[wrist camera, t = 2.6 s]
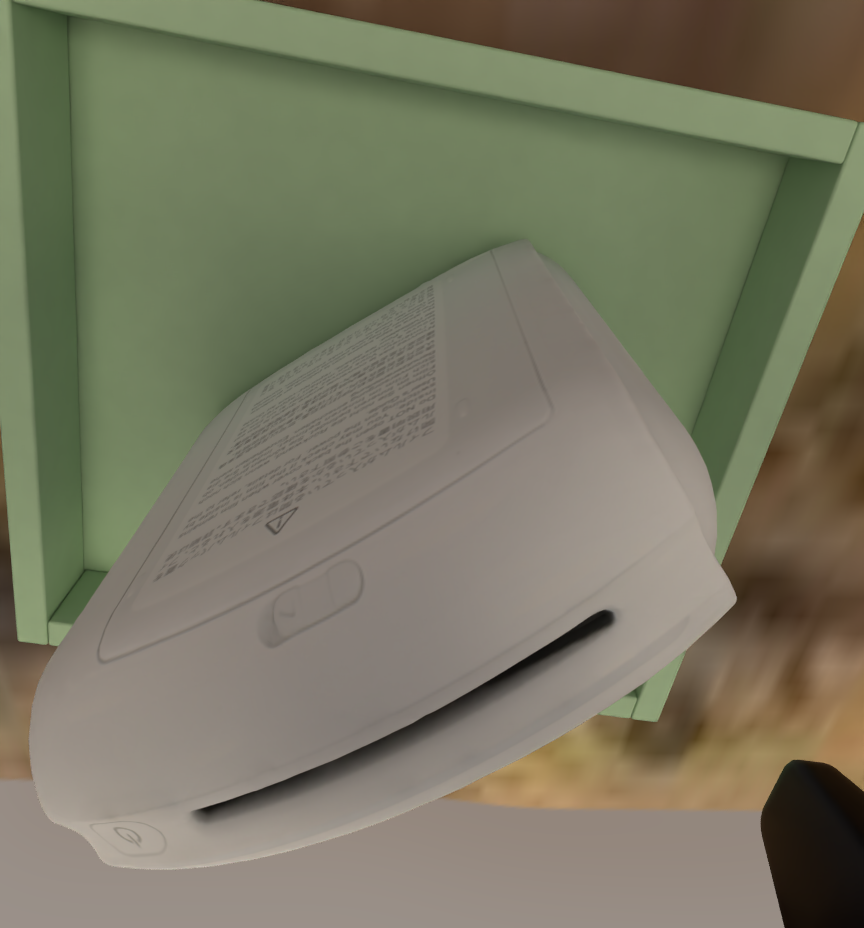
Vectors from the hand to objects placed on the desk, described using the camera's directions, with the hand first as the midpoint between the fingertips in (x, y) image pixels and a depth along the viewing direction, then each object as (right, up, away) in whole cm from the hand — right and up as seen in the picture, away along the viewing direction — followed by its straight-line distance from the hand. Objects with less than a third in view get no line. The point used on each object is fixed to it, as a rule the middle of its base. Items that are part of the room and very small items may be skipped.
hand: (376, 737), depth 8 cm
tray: (0, +5, +12) cm, 13 cm away
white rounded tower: (0, +5, +12) cm, 13 cm away
